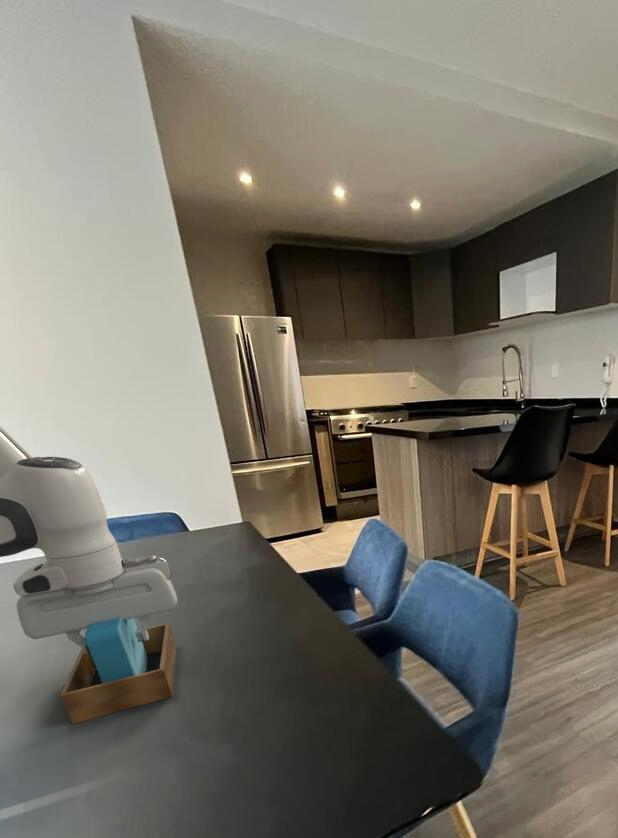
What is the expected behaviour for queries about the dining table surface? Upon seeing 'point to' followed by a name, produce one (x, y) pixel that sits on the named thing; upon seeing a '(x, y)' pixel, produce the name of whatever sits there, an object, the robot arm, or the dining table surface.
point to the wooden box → (121, 682)
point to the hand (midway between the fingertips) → (118, 646)
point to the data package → (116, 649)
